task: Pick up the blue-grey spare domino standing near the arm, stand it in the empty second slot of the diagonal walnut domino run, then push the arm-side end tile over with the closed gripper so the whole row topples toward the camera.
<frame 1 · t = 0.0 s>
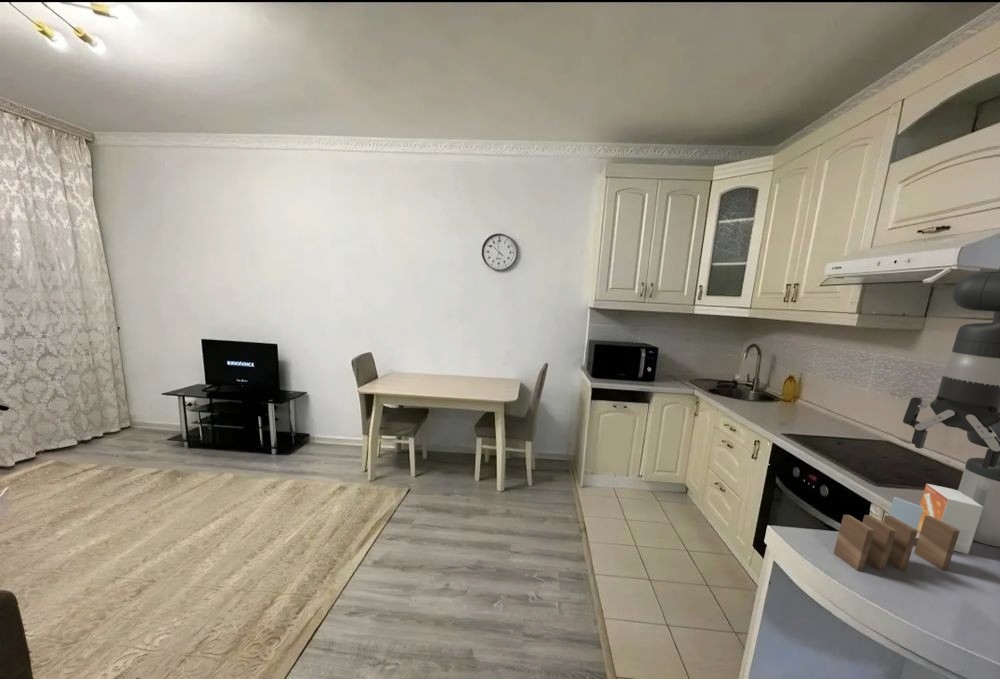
hand: (950, 457, 70), 29 cm above the kitchen counter, fingers open, 8 cm apart
small box: (938, 540, 91), on the kitchen counter
domino 4: (847, 561, 80), on the kitchen counter
domino 0: (930, 561, 82), on the kitchen counter
domino 3: (868, 561, 81), on the kitchen counter
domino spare: (898, 538, 90), on the kitchen counter
domino 2: (889, 561, 81), on the kitchen counter
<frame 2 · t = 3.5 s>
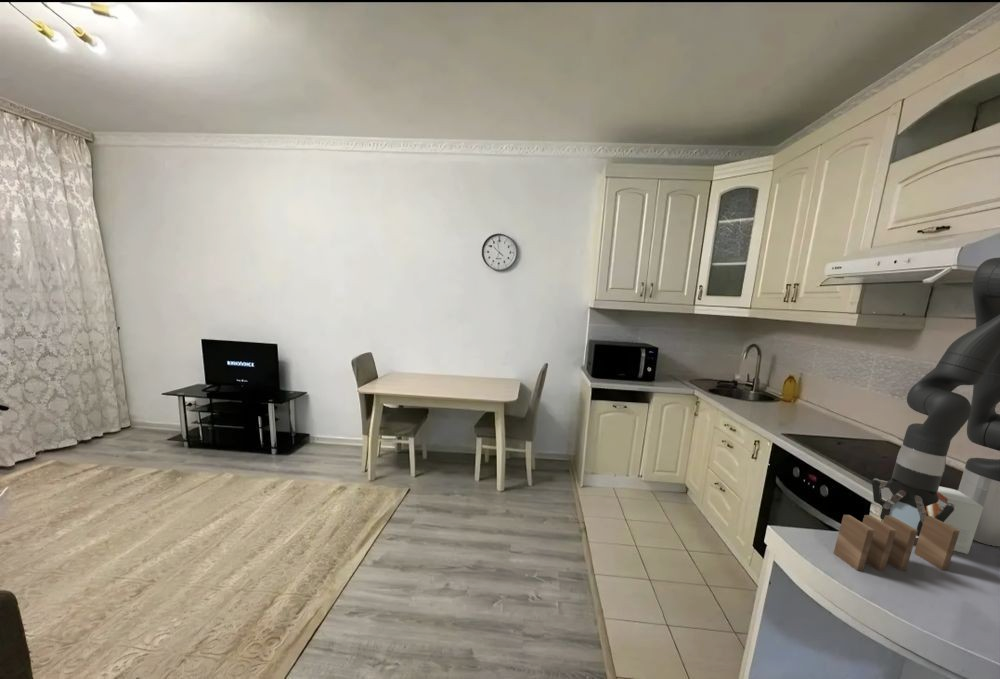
hand: (901, 527, 90), 3 cm above the kitchen counter, fingers closed on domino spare, 5 cm apart
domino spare: (898, 538, 90), on the kitchen counter, touching gripper
everything else where it was.
when the fingers open (3 cm above the kitchen counter, at t = 8.5 s): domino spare stays where it is, on the kitchen counter.
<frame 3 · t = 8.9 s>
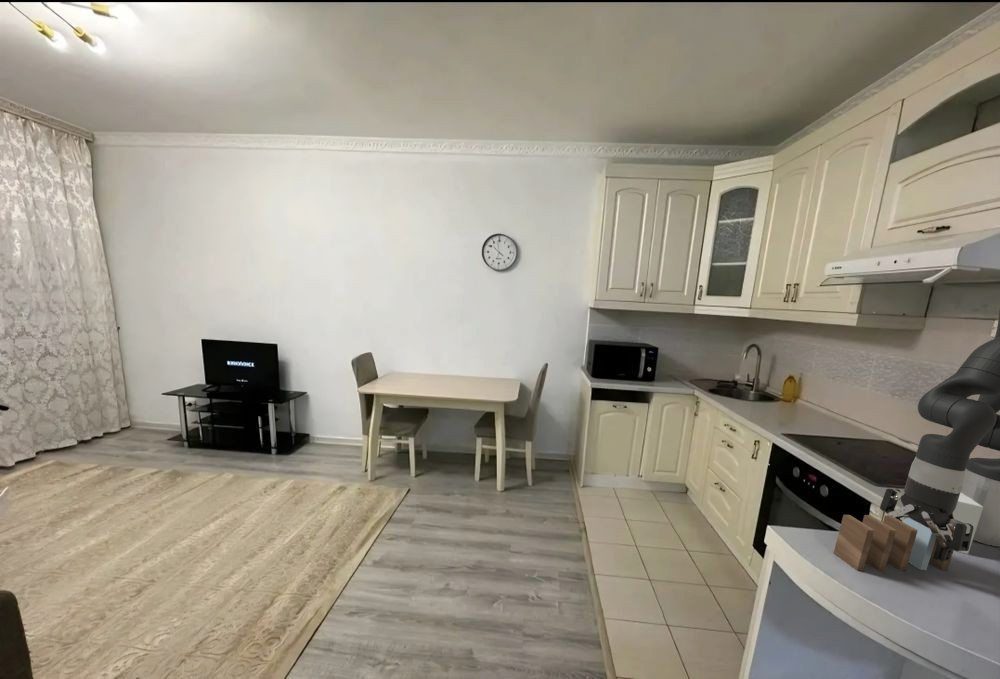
hand: (914, 546, 81), 4 cm above the kitchen counter, fingers open, 8 cm apart
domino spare: (909, 561, 82), on the kitchen counter
everything else where it was.
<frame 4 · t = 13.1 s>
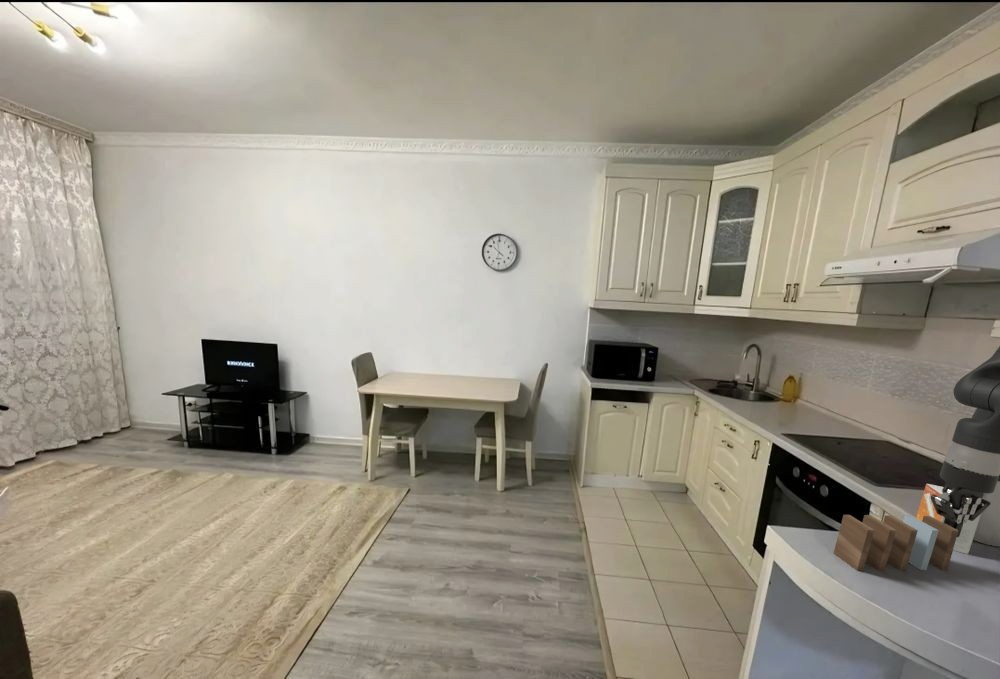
hand: (949, 534, 81), 7 cm above the kitchen counter, fingers closed
domino 0: (930, 561, 82), on the kitchen counter, touching gripper
everything else where it was.
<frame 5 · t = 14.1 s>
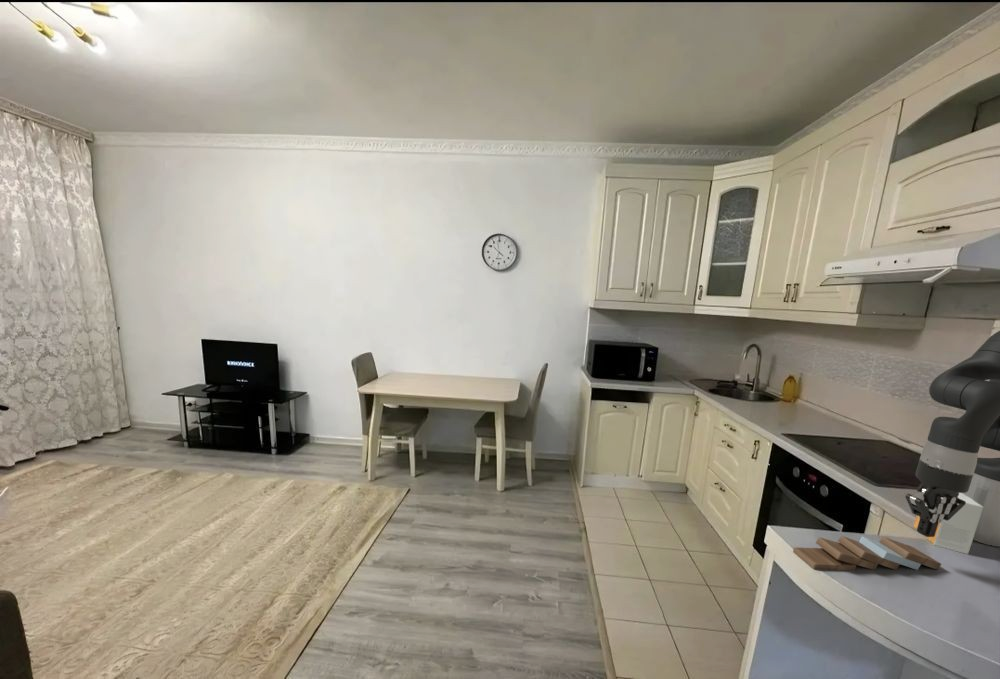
hand: (924, 534, 81), 7 cm above the kitchen counter, fingers closed
domino 4: (843, 559, 80), on the kitchen counter, tilted 90°
domino 0: (925, 558, 82), point 1 cm above the kitchen counter, tilted 73°, touching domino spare
domino 3: (864, 558, 80), point 1 cm above the kitchen counter, tilted 76°, touching domino 2
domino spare: (905, 558, 82), point 1 cm above the kitchen counter, tilted 73°, touching domino 0, domino 2
domino 2: (884, 558, 81), point 1 cm above the kitchen counter, tilted 73°, touching domino 3, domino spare
everything else where it was.
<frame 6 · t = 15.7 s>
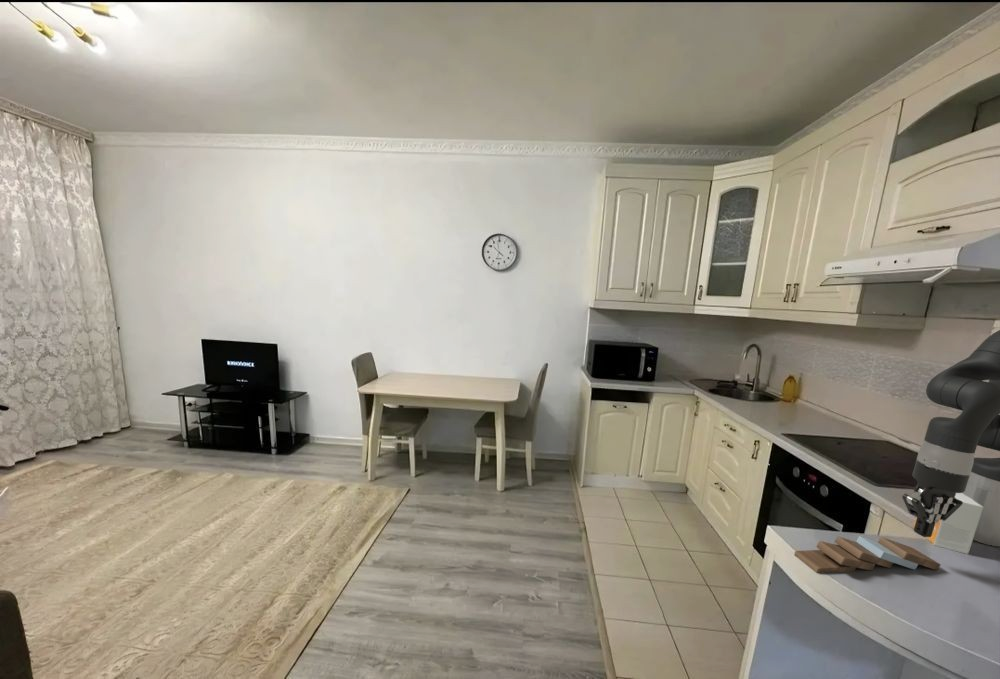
hand: (921, 534, 81), 7 cm above the kitchen counter, fingers closed
domino 3: (860, 558, 80), point 1 cm above the kitchen counter, tilted 76°, touching domino 2
domino 2: (878, 556, 81), point 1 cm above the kitchen counter, tilted 73°, touching domino 3, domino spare
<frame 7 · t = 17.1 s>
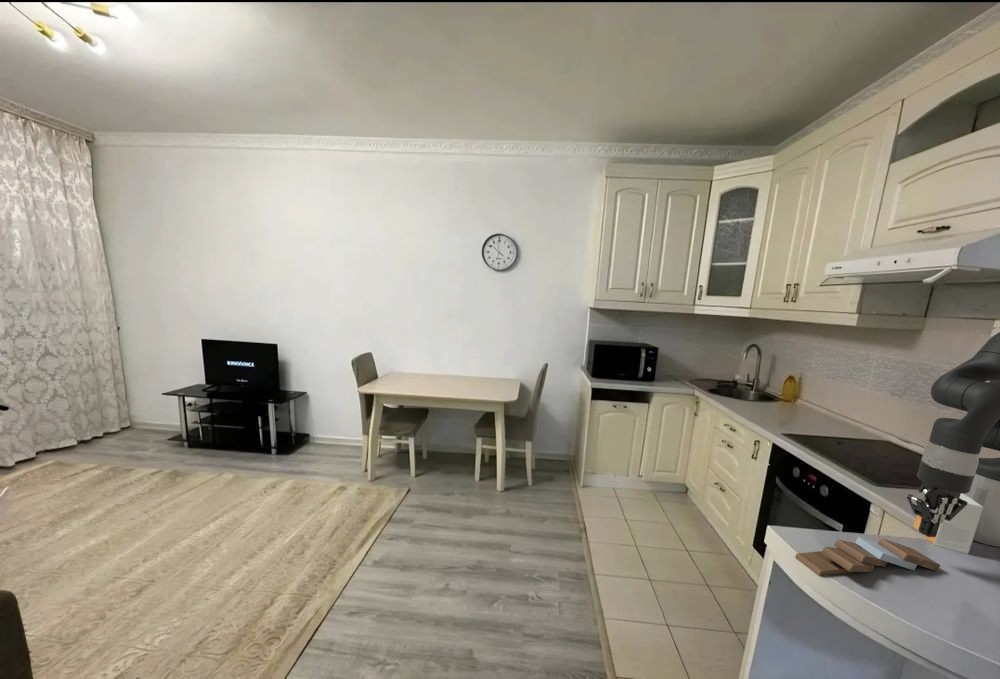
hand: (926, 534, 81), 7 cm above the kitchen counter, fingers closed
domino 4: (841, 561, 79), on the kitchen counter, tilted 90°, touching domino 3
domino 3: (858, 560, 79), point 1 cm above the kitchen counter, tilted 75°, touching domino 2, domino 4
domino 2: (872, 555, 82), point 1 cm above the kitchen counter, tilted 73°, touching domino 3, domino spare
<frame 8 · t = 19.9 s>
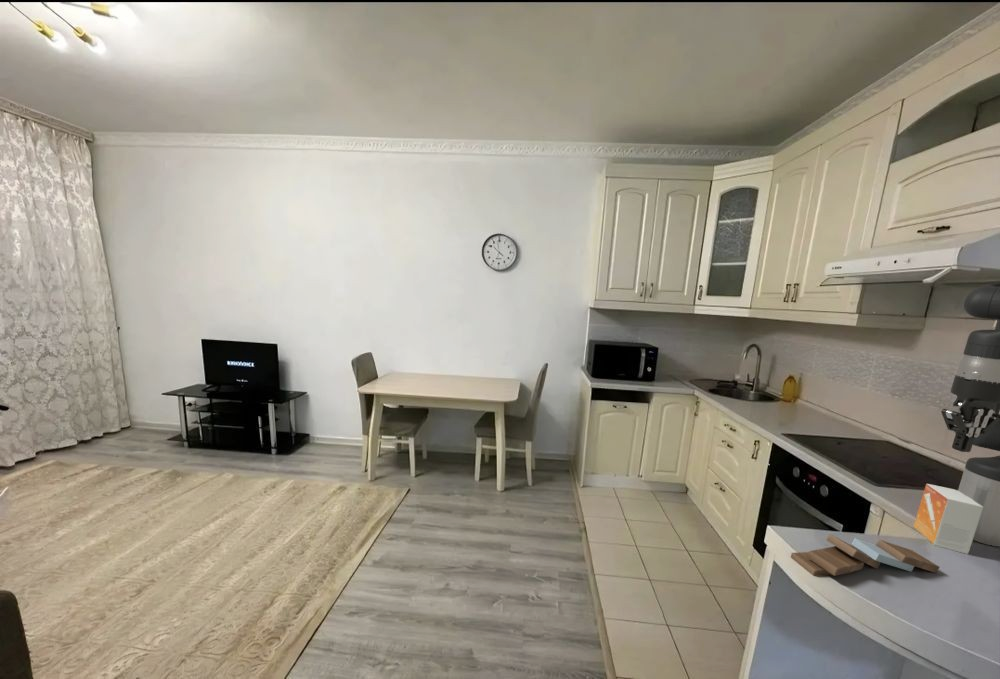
hand: (960, 450, 80), 27 cm above the kitchen counter, fingers closed
domino 4: (839, 562, 79), on the kitchen counter, tilted 90°, touching domino 3
domino 0: (923, 561, 81), point 1 cm above the kitchen counter, tilted 74°, touching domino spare
domino 3: (849, 557, 79), point 2 cm above the kitchen counter, tilted 87°, touching domino 2, domino 4
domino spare: (899, 560, 81), point 1 cm above the kitchen counter, tilted 74°, touching domino 0, domino 2
domino 2: (865, 557, 81), point 1 cm above the kitchen counter, tilted 65°, touching domino 3, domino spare
everything else where it was.
at the end: domino 4 tilted 90°; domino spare tilted 74°; the gripper is holding nothing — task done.
